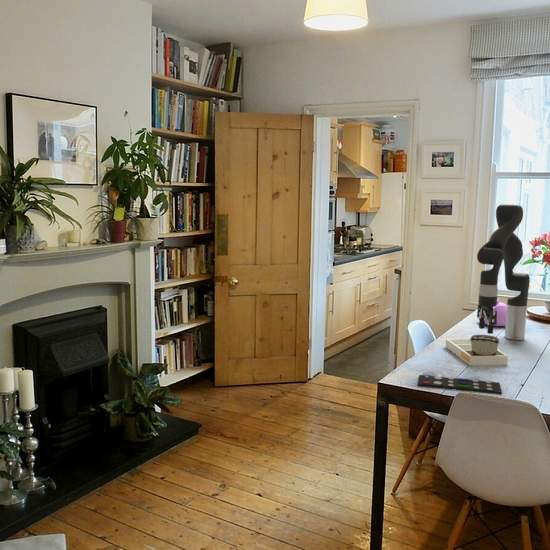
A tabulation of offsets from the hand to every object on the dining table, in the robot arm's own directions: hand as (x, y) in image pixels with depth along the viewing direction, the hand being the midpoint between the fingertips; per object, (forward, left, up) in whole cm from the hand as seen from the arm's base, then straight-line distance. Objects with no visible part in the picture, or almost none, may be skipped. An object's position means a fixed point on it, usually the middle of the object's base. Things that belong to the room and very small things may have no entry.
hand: (485, 330), depth 260 cm
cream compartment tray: (-9, 0, -14) cm, 17 cm away
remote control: (+29, -23, -15) cm, 40 cm away
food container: (-2, +1, -13) cm, 13 cm away
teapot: (-66, +38, -14) cm, 78 cm away
